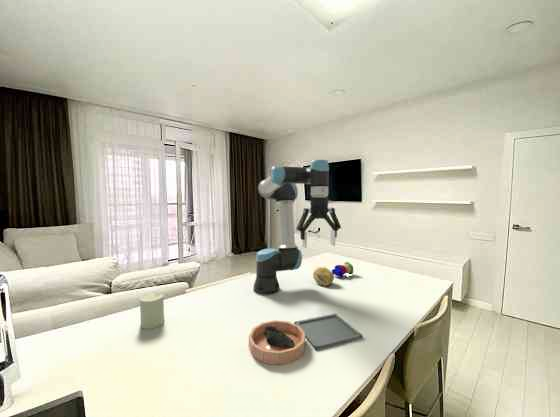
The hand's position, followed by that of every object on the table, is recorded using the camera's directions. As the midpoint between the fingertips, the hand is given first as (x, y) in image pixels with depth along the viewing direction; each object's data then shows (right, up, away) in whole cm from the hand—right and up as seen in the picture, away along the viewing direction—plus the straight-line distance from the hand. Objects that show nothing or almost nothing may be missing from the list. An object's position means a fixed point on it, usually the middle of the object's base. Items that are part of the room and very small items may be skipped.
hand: (318, 246), depth 105 cm
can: (-72, -34, 0) cm, 79 cm away
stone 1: (-17, -34, -16) cm, 41 cm away
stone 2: (+10, -31, +47) cm, 57 cm away
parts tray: (+2, -33, -7) cm, 34 cm away
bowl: (-18, -34, -16) cm, 42 cm away
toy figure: (+26, -30, +61) cm, 73 cm away
